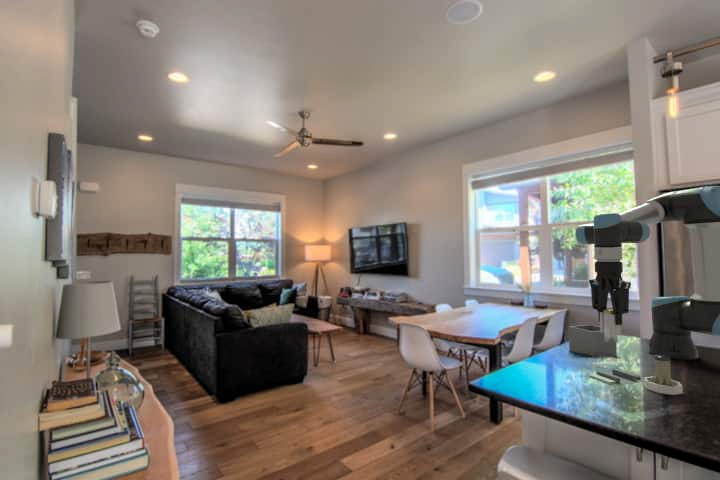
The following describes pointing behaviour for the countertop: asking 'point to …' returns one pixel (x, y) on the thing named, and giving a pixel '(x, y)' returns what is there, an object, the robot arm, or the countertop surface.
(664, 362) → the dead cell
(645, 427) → the countertop surface
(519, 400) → the countertop surface
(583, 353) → the smartphone
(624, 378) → the cradle
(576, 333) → the phone caddy
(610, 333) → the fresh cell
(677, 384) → the white octagonal bowl
